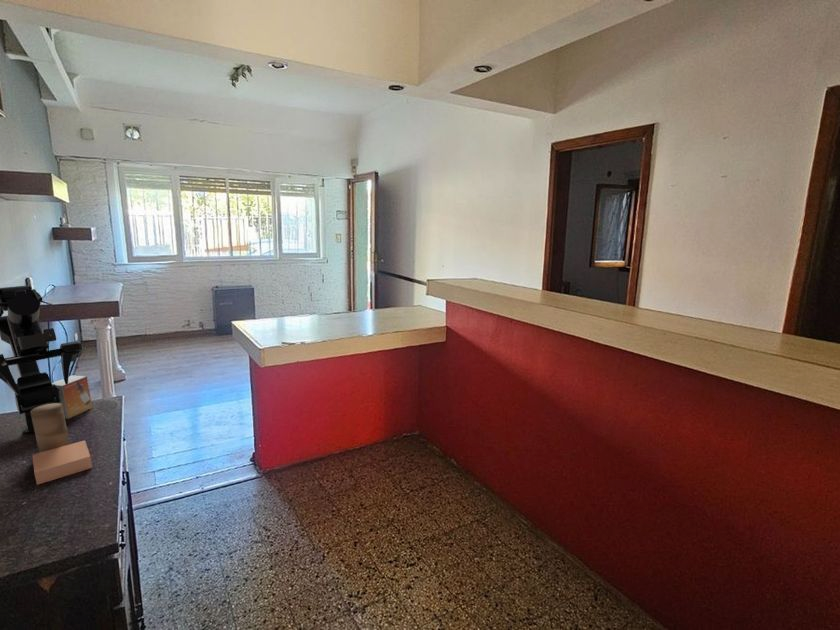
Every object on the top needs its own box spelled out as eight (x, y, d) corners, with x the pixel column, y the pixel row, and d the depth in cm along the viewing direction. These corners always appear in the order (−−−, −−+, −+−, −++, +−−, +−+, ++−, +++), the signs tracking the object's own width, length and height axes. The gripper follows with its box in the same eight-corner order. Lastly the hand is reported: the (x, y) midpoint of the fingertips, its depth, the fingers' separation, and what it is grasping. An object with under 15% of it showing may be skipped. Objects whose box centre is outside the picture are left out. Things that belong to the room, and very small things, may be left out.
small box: (68, 419, 127) (61, 385, 125) (52, 417, 128) (45, 384, 126) (93, 408, 135) (87, 375, 132) (78, 406, 136) (72, 374, 133)
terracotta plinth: (34, 466, 104) (32, 454, 103) (86, 451, 111) (84, 440, 110) (37, 484, 97) (34, 472, 96) (92, 467, 103) (90, 456, 103)
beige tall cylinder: (49, 447, 112) (40, 404, 109) (75, 445, 113) (67, 402, 111) (34, 460, 106) (24, 414, 104) (61, 457, 108) (52, 412, 105)
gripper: (-28, 326, 98) (-10, 390, 95) (75, 312, 111) (93, 368, 109) (-25, 344, 105) (-9, 404, 102) (71, 329, 119) (88, 382, 116)
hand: (43, 389), depth 107 cm, fingers open, 9 cm apart
